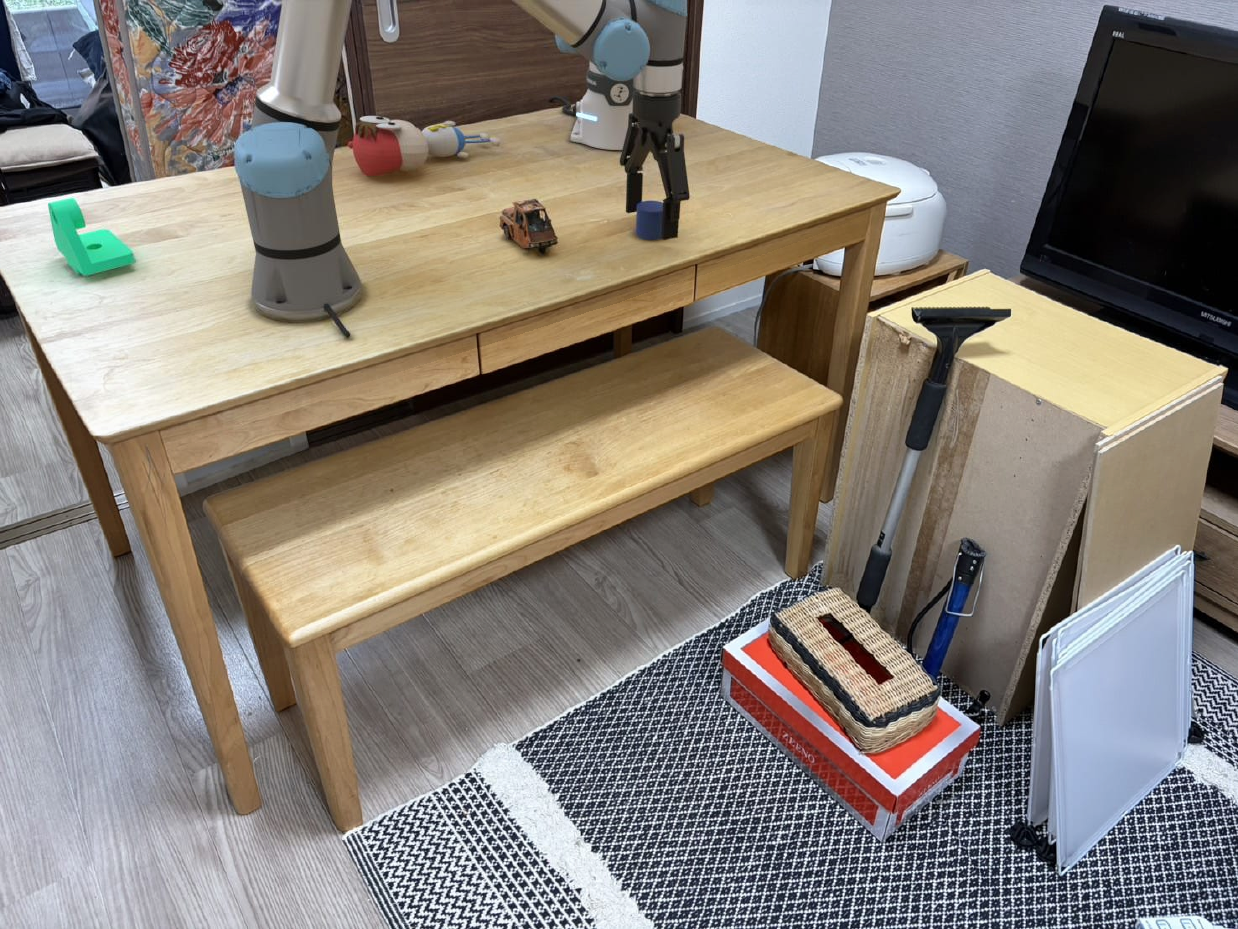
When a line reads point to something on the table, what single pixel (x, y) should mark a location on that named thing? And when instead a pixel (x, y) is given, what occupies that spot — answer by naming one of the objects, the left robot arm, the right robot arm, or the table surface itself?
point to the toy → (405, 144)
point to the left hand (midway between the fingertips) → (651, 224)
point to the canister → (649, 220)
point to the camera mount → (85, 241)
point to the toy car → (528, 225)
